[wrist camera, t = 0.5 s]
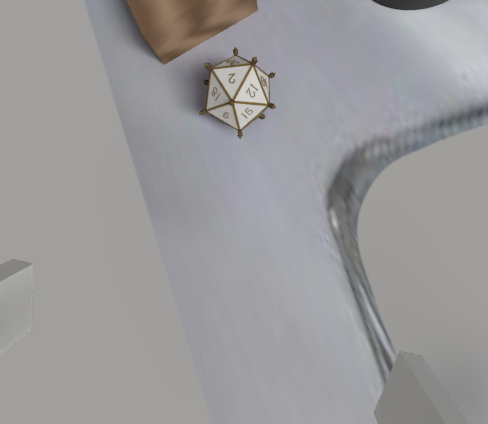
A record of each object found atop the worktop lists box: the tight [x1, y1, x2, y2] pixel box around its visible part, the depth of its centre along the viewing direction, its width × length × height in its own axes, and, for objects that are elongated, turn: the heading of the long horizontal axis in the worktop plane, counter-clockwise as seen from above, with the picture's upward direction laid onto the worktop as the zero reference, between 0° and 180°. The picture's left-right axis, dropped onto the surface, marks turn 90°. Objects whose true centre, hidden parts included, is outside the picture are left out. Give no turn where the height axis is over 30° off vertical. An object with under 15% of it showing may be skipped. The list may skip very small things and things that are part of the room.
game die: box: [199, 47, 276, 139], centre depth 33 cm, size 9×8×10 cm
